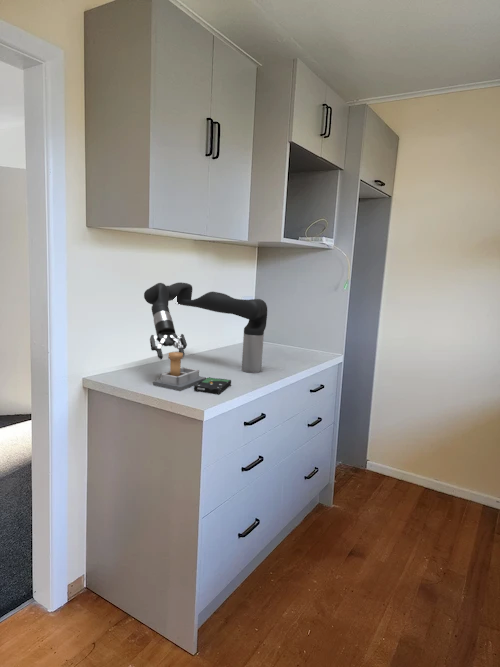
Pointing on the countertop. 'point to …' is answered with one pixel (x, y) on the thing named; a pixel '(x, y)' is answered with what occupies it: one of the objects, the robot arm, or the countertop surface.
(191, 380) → the box
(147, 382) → the countertop surface
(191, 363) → the countertop surface
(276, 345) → the countertop surface
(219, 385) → the disk drive
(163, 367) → the countertop surface
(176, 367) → the ball-topped knob
